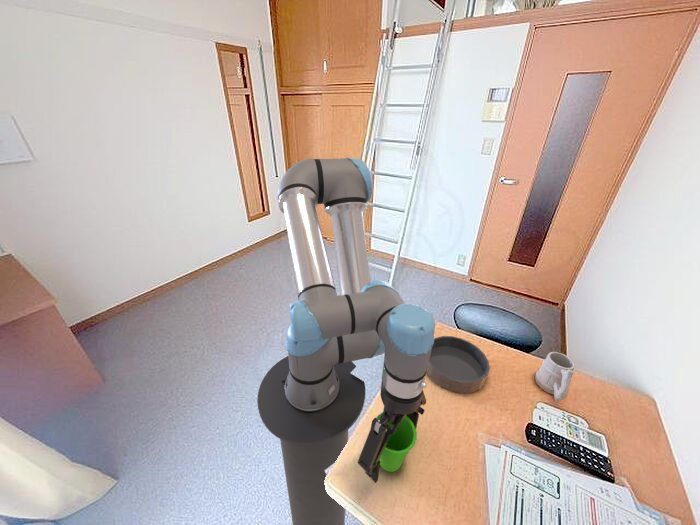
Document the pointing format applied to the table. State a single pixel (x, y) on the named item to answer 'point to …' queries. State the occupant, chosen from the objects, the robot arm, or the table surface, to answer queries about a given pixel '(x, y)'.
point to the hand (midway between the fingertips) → (391, 451)
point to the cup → (398, 445)
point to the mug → (555, 374)
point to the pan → (457, 365)
